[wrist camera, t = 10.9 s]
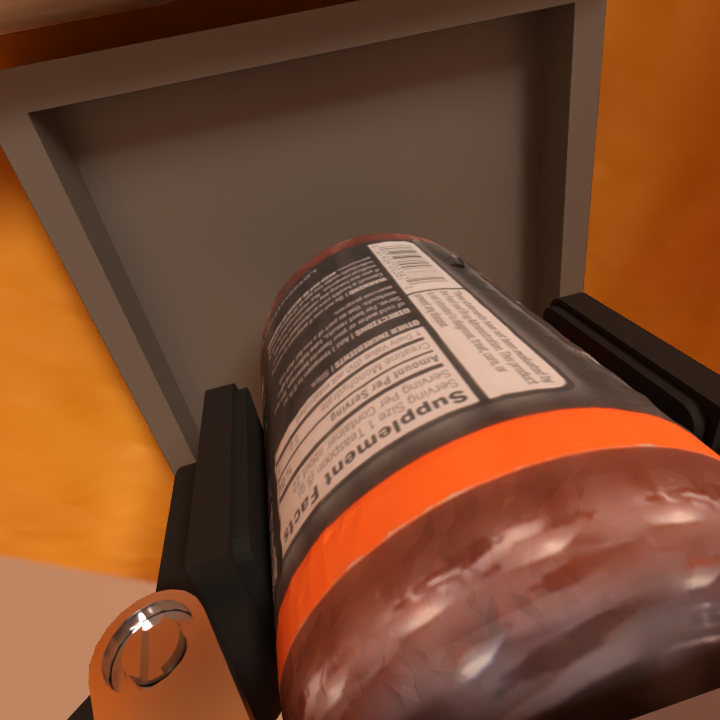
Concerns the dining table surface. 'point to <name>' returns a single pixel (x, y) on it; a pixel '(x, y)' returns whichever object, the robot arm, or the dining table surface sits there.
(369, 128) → the tray
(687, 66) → the dining table surface
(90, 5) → the bay
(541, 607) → the supplement bottle
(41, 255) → the dining table surface
